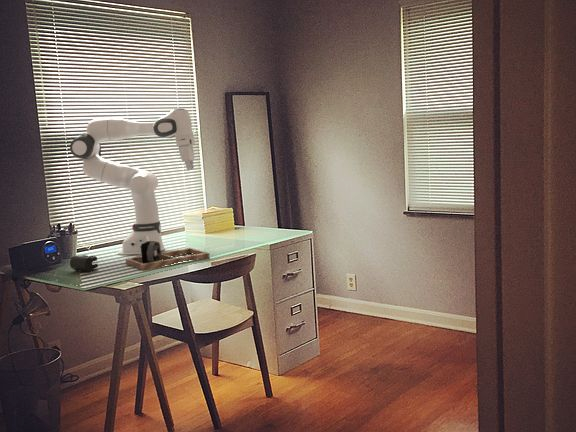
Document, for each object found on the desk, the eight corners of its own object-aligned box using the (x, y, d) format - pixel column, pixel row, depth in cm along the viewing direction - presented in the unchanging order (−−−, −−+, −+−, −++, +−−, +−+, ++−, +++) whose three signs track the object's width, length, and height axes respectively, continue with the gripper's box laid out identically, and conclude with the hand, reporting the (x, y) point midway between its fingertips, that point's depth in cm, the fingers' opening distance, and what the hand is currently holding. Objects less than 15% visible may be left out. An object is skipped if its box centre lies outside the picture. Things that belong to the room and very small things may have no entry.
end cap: (70, 272, 266) (68, 256, 265) (83, 268, 272) (82, 253, 271) (85, 274, 261) (84, 258, 260) (99, 270, 267) (97, 255, 266)
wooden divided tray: (142, 270, 260) (142, 264, 260) (126, 263, 277) (125, 258, 277) (209, 258, 278) (209, 253, 278) (190, 252, 294) (189, 247, 294)
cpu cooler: (153, 266, 268) (151, 243, 266) (141, 266, 269) (139, 243, 267) (162, 261, 278) (160, 239, 276) (150, 261, 279) (148, 239, 277)
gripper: (182, 142, 310) (187, 169, 311) (175, 143, 289) (180, 172, 291) (194, 140, 309) (199, 167, 311) (188, 140, 289) (194, 170, 291)
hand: (190, 169), depth 301 cm, fingers open, 8 cm apart
